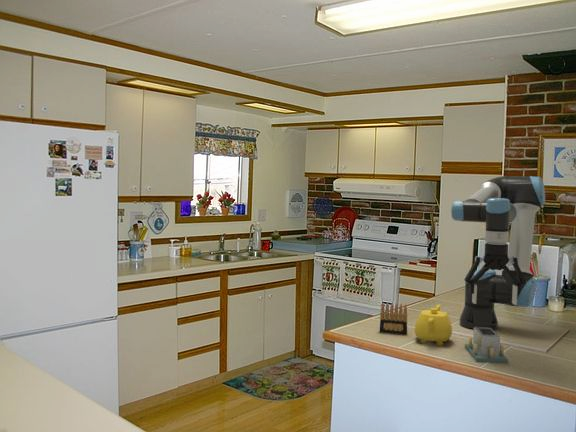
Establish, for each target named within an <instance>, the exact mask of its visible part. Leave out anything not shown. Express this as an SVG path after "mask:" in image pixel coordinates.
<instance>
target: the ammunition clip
mask: <svg viewBox="0 0 576 432" xmlns="http://www.w3.org/2000/svg"><path fill="white" fill-rule="evenodd" d="M385 304H386V305H385ZM389 305H390V306H389ZM380 308H381V309H380V315H379V316H380V317H379V318H380V320H379V321H380V322H379V333H382V332H383V334H394V335H395V334H396V335H404V336H406V335H408V306H407V304H406V303H405V304H404V307H403V304H402V303H400V304H399V306H398V303H395V306H394V303H393V302H391V304H389V302H386V303H384V302H383V301H382V302H381V306H380ZM389 308H390V309H389Z"/></svg>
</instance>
